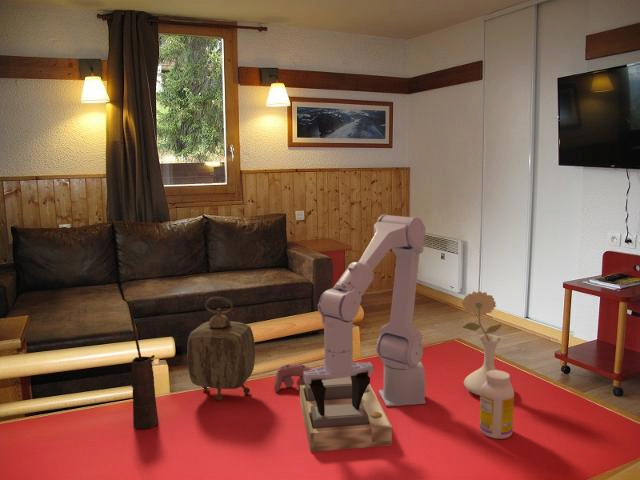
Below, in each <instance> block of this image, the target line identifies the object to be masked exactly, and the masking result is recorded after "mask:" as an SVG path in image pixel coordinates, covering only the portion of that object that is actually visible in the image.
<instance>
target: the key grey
mask: <svg viewBox="0 0 640 480" xmlns="http://www.w3.org/2000/svg"><path fill="white" fill-rule="evenodd" d="M322 382H323V385H324V387H325V388H326V391H325V399H324V400H334V399H349V398H352V380H351V376H349V377H345V378H334V379H328V380H322ZM305 394H306V398H307V401H316V400H315V397H314V394H313V392H312V390H311V387H310V385H309V384H306V383H305Z"/></svg>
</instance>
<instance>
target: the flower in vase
mask: <svg viewBox="0 0 640 480" xmlns="http://www.w3.org/2000/svg"><path fill="white" fill-rule="evenodd" d="M461 305H462V307H463V308H464V311H465V312H467V313H468V314H472V315H475V316H478V324H477V323H475V322H469V323H468V322H467V323H465V325H463V326H462V328H463V329H467V330H471V331H477V330H479V329H481V330H482V332H483V334H481V335H480V336H478V337H479V340H480V341H481V343H482V345H483V350H484V351H483V352H484V353H483V355H484V360H483V364H482V366H481V367H480V368H478V369H476V370H475V371H472V372H470V374H469V375H467V376H466V377H465V379H464V380H463V385H464V386H465V388H466V390H467V391H469V392H471V393H472V394H475V395H477V396H480V397H481V387H482V385H483V384H484V383H486V382H487V380H486V373H487V372H488V371H491V370H498V369H497V367H496V366H495V353H496V349H497V345H498V344H499V343H500V341H501V340H502V338H501V337H500V336H498V335H495V334H493V333H496V332H497V331H499V330H500V328H501V327H502V323H500V324H496V325H491V326H489V327H488V329H486V331H485V330H484V328H483V326H482V323H481V316H482V315H486V314H491V313H492V312H493V311H494V309H495V308H497V305H496V301H495V298H494V296H493V295H489V294H488V293H487V292H486V291H484V292H482V291H478V292H476V291H472V293H468V294H467V295H465V297H463V300H462V301H461ZM508 385H510V386H511V387H512V388H513V385H512V382H511V381H510V382H509V384H508Z"/></svg>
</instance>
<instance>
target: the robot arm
mask: <svg viewBox="0 0 640 480" xmlns="http://www.w3.org/2000/svg"><path fill="white" fill-rule="evenodd" d="M425 237H426V226H425V224H424V222H423V220H422V219H421V218H420V217H417V216H414V217H413V216H402V215H392V214H391V215H389V214H386V213H384V214H381V215H380V216H378V219H377V220H376V223H374V226H373V237H372V238H371V240H370V242H369V244H368V245H367V247H366V248H365V250H364V252H363V254H362V255H361V256H360V259H359V260H358V261H354V262H351V263H350V264H349V265H348V266H347V267H346V269H345V271H344V272H343V273H342V275H341V276H340V278H339V279H338V280H337V281H336V283H335V285H334V286H333V287H332V288H329V289H327V290H324V292H323V293H322V294H321V295H320V297H319V301H318V304H317V310H318V312H319V314H320V315H321V323H322V324H323V325H324V326H323V327H324V329H323V330H324V331H323V332H324V335H323V336H324V339H323V340H324V341H323V342H324V365H321V366H319V367H316V368H313V369H312V368H311V369H312V370H309V371H304V372H303V380H304V382H305V383H306V384H309V385H310V387H311V390H312V392H313V394H314V397H315V400H316V404H317V408H318V412H319V414H320V415H321V416H323V415H324V414H325V407H324V399H325V391H326V388H325V387H324V385H323V382H322V380H328V379H334V378H345V377H349V376H351V380H352V405H353V407H354V408H355V409H356V410H358V409H359V407H360V403H361V400H362V397H363V394H364V392H365V390H366V388H367V386H368V385H369V384H370V383H371V377H370V375H373V374H374V365H373V364H372V363H371V362H370V361H367V362H353V361H354V360H353V358H354V357H353V356H354V355H353V353H354V352H353V350H354V348H353V345H354V343H353V341H354V340H353V339H354V336H353V335H354V334H353V333H354V332H353V331H354V330H353V329H354V321H353V320H354V319H355V318H356V317H357V316H358V313H359V312H360V311H359V310H360V304H361V303H362V301H363V299H362V296H363V295H364V293H365V292H366V291H367V289H368V288H369V286H370V285H371V284H372V282H373V280H374V273H373V271H374V269H376V267H377V266H378V264H379V263H380V262H381V261H382V260H383V259H384V257H385V256H386V255H387V254H388V253H389V252H390V250H392V252H393V253H394V255H395V256H396V260H395V261H396V262H395V270H394V271H395V272H394V278H393V279H394V281H393V289H392V299H391V307H390V308H391V309H390V317H389V318H390V319H389V322H388V323H385V324H384V325H382V326H381V328H380V330H379V336H378V338H377V341H376V344H375V345H376V346H375V348H376V349H375V350H376V353H377V356H378V357H379V358H380V362H381V363H382V364H383V388H382V389H379V390H378V394H379V395H380V397H381V399H382V401H383V404H385V406H386V407H401V406H413V405H415V406H416V405H426V402H427V401H426V400H425V399H426V397H425V394H426V393H425V392H426V372H425V366H424V365H423V363H422V362H421V360H422V358H423V355H424V347H423V341H422V339H423V334H422V333H421V331H419V329H417V327H416V326H415V325H414V324H413V320H414V309H415V301H416V291H417V290H416V289H417V282H418V281H417V280H418V273H419V263H420V254H422V253H423V252H424V247H425Z"/></svg>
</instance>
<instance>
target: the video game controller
mask: <svg viewBox="0 0 640 480" xmlns="http://www.w3.org/2000/svg"><path fill="white" fill-rule="evenodd" d="M309 370H312V368H311V367H310V366H307V365H304V364H298V363H291V364H290V363H289V364H286V365H282V366H281V367H279V368H278V370H277V371H276V375H275V378H274V391H275V392H276V393H278V392H279V391H280V390H281V387H282V385H283V384H284V386H286V387H287V388H292V387H293V386H294V383H295V381H294V379H293V378H292V377H299V378H297V380H296V385H297V387H299V388H300V385H305V382H304V380H303V372H304V371H309Z"/></svg>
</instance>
